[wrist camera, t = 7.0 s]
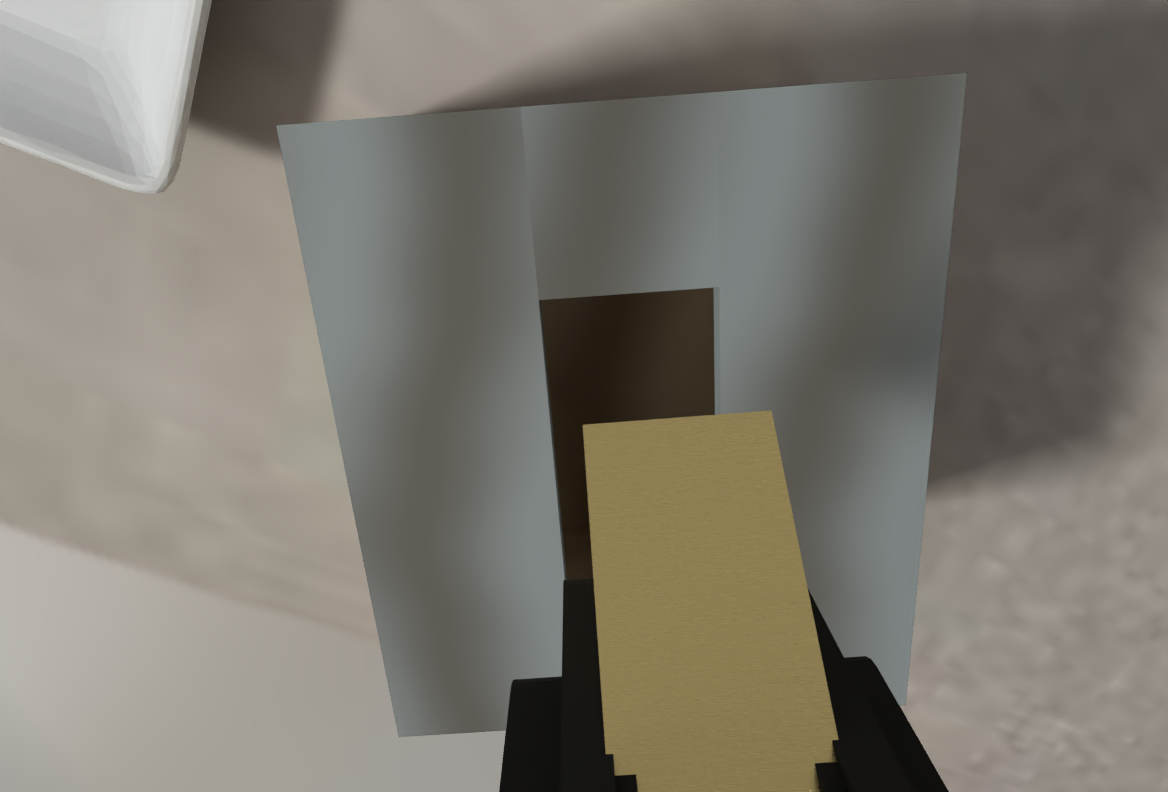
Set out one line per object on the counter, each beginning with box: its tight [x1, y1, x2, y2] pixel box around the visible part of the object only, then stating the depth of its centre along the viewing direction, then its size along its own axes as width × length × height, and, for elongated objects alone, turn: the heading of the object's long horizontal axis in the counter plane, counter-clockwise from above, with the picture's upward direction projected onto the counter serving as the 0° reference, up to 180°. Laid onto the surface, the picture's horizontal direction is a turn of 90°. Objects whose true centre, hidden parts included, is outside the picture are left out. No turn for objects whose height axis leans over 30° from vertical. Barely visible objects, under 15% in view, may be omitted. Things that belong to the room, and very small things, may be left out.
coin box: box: [276, 73, 967, 737], centre depth 23 cm, size 14×16×10 cm
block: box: [583, 410, 838, 792], centre depth 10 cm, size 2×5×6 cm
